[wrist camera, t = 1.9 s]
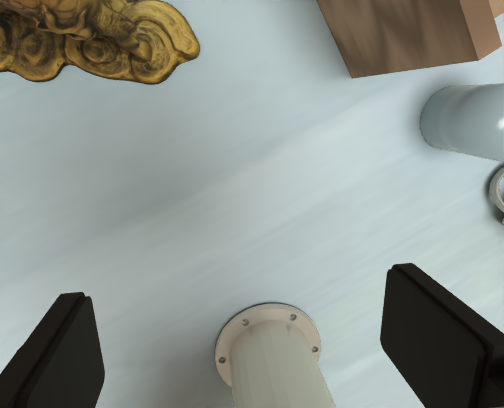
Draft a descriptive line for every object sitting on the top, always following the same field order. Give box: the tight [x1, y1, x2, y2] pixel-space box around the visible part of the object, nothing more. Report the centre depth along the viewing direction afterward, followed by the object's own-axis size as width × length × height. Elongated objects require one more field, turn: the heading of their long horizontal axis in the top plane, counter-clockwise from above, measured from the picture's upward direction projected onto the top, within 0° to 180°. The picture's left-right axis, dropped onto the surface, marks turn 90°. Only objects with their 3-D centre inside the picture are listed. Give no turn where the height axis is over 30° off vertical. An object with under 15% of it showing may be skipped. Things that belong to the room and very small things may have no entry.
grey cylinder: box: [420, 84, 504, 162], centre depth 32 cm, size 6×6×8 cm
